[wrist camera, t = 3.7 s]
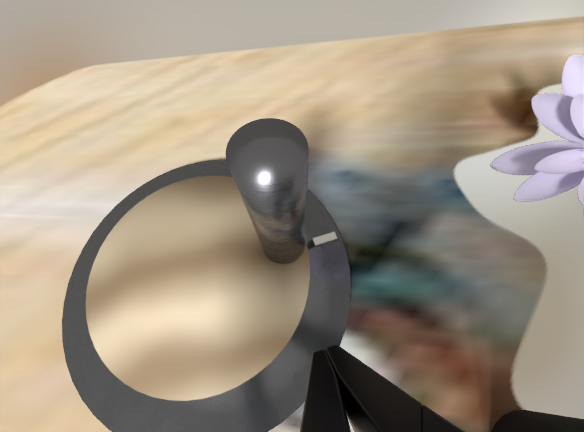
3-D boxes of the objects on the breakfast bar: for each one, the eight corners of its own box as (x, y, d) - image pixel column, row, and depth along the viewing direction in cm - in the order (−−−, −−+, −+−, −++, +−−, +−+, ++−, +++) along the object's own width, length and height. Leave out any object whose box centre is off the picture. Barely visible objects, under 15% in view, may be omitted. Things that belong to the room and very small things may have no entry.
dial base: (399, 381, 18) (404, 383, 17) (65, 508, 16) (51, 518, 15) (298, 140, 27) (298, 133, 26) (74, 201, 24) (65, 196, 24)
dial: (341, 348, 18) (400, 357, 7) (104, 433, 16) (-275, 606, 6) (276, 166, 24) (255, 22, 13) (100, 215, 22) (-85, 98, 12)
